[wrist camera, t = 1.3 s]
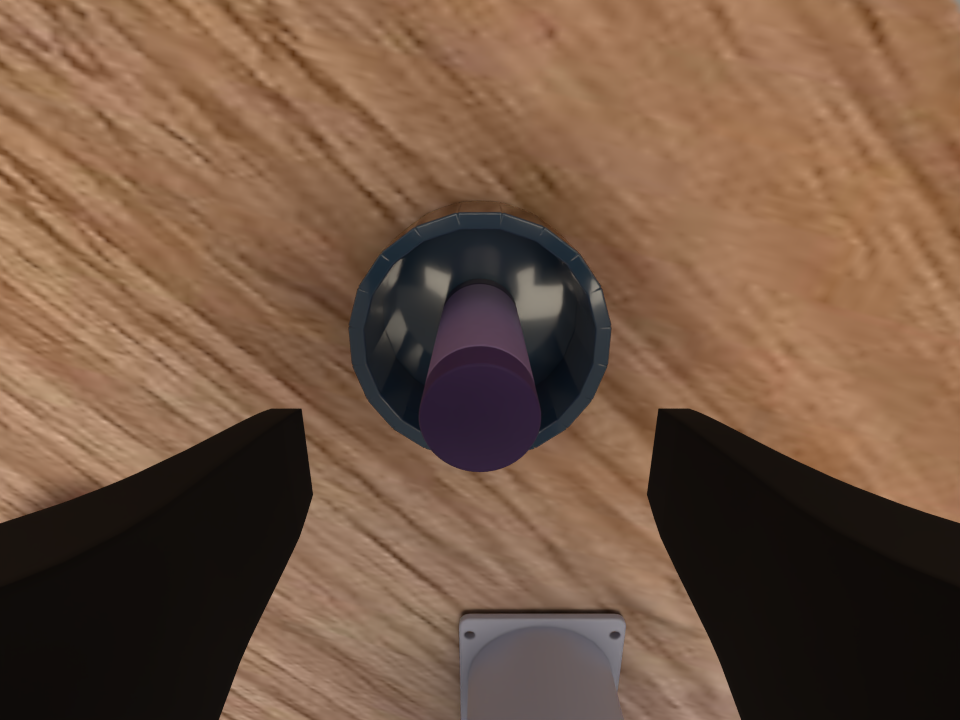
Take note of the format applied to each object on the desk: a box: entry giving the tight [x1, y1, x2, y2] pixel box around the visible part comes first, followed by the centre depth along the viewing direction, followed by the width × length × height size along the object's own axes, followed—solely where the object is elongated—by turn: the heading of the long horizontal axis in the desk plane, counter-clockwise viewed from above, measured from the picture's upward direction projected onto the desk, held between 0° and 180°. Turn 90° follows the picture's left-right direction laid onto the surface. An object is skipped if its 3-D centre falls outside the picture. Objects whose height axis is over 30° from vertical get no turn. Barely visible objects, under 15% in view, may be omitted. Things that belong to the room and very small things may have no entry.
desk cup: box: [349, 201, 611, 450], centre depth 19 cm, size 8×8×4 cm
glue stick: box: [419, 279, 541, 472], centre depth 16 cm, size 3×3×8 cm
